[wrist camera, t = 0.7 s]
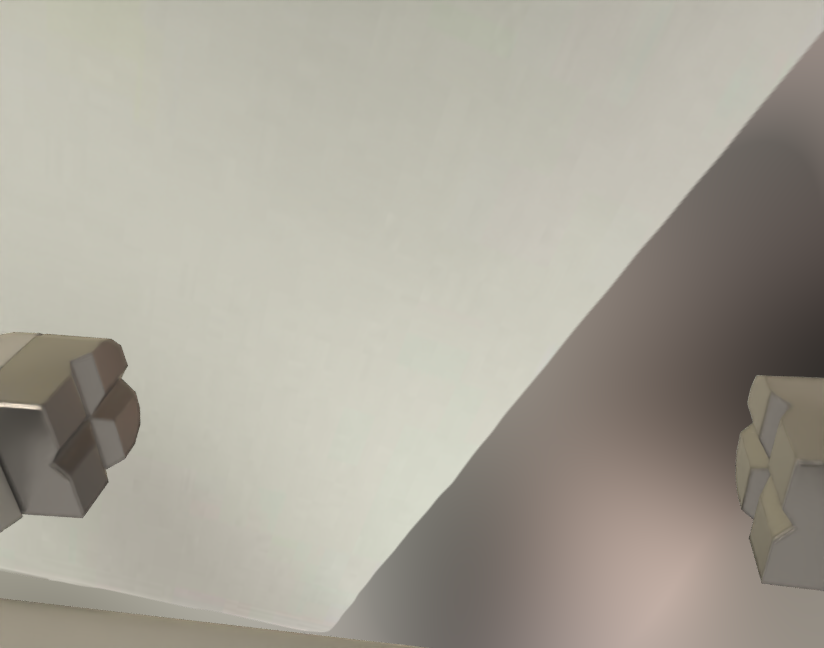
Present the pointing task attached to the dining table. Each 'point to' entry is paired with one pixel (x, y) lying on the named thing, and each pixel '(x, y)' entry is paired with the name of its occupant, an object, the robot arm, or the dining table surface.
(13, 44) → the dining table surface
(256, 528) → the dining table surface
